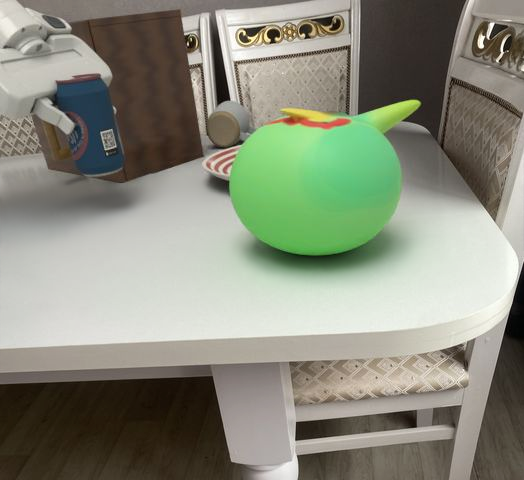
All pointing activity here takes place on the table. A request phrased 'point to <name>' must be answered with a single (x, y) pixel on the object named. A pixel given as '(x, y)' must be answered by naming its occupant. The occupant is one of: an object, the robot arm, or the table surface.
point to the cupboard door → (55, 138)
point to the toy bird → (319, 179)
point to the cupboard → (149, 89)
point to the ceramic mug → (229, 124)
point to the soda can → (91, 125)
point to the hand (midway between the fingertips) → (94, 122)
